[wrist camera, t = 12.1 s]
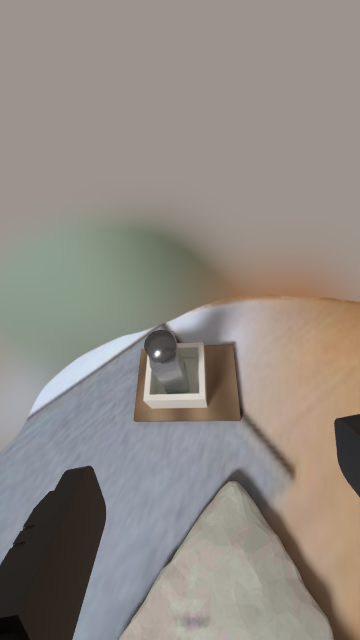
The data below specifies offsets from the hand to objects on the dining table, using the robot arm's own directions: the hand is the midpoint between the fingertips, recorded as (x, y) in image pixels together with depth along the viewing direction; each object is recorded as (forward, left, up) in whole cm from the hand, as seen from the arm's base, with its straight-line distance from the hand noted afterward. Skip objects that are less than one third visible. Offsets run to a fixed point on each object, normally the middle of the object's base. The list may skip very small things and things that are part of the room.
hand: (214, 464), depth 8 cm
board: (+5, -13, -31) cm, 34 cm away
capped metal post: (+6, -12, -29) cm, 32 cm away
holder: (+6, -13, -29) cm, 33 cm away
